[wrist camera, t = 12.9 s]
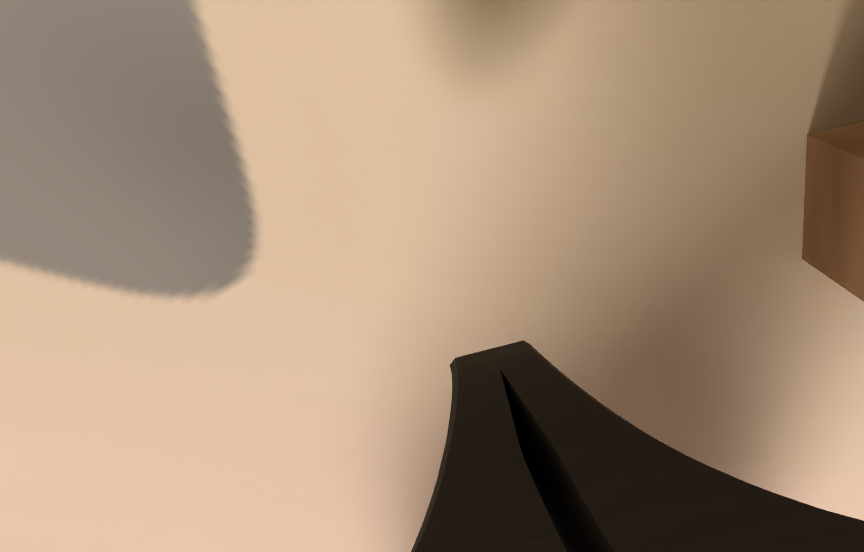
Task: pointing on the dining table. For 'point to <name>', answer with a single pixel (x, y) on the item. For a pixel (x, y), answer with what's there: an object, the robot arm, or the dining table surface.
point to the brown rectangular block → (836, 205)
